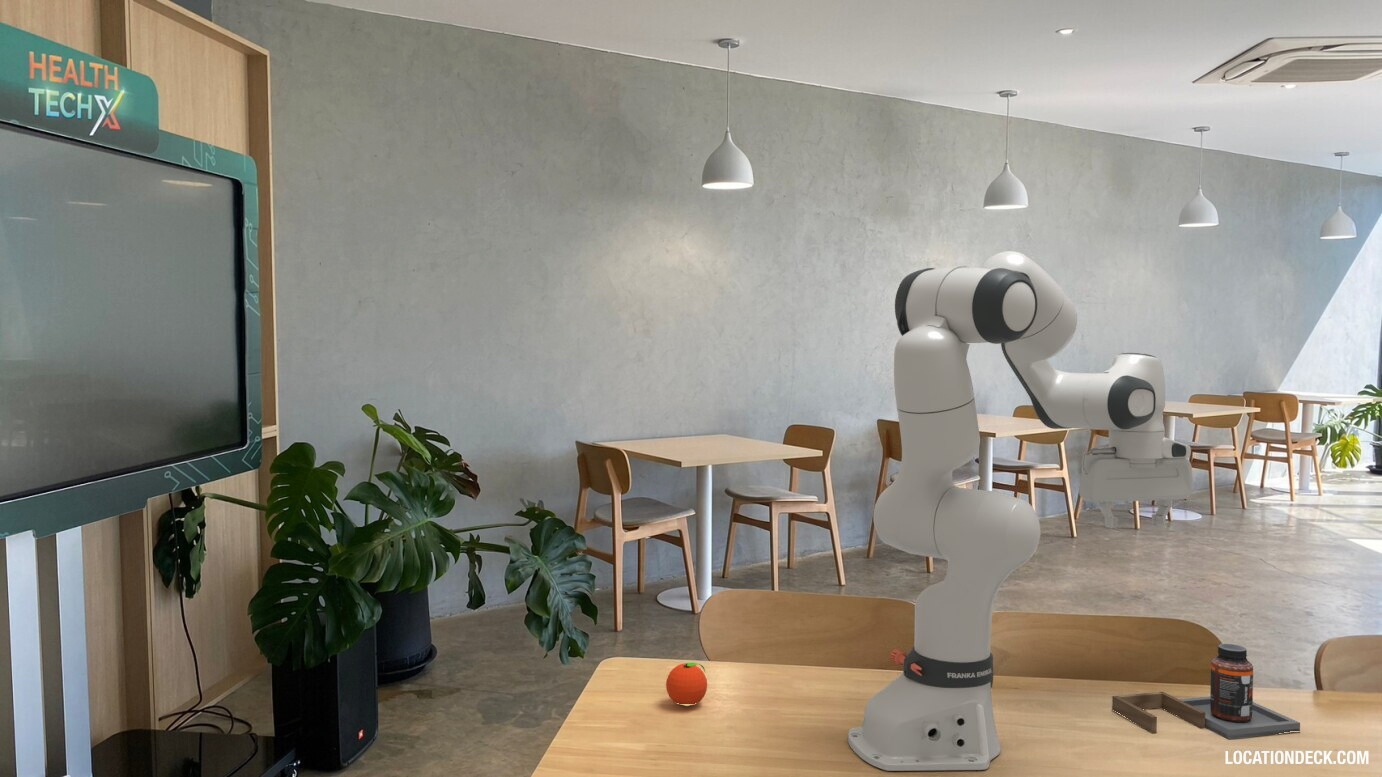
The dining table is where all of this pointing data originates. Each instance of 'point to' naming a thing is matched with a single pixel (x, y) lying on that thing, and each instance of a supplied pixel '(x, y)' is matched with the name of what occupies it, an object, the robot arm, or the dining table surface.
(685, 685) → the clementine
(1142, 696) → the frame
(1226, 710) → the supplement bottle
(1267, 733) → the tray
